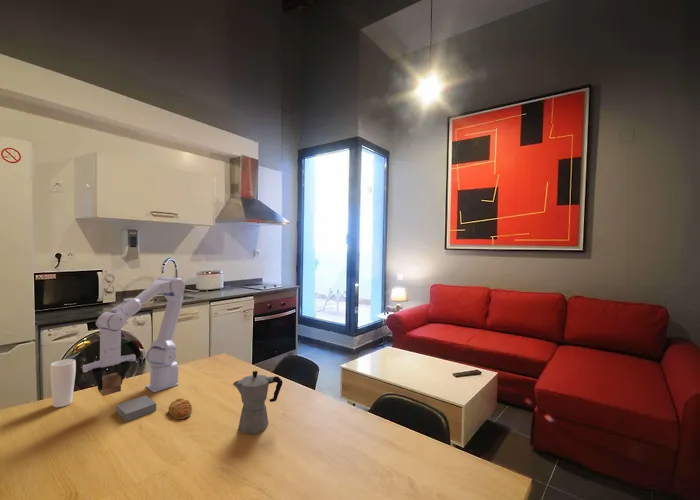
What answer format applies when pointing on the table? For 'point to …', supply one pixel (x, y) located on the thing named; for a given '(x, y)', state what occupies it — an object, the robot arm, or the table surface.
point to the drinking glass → (62, 382)
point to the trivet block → (135, 408)
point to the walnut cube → (110, 384)
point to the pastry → (180, 409)
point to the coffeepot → (255, 401)
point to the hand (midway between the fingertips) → (110, 386)
